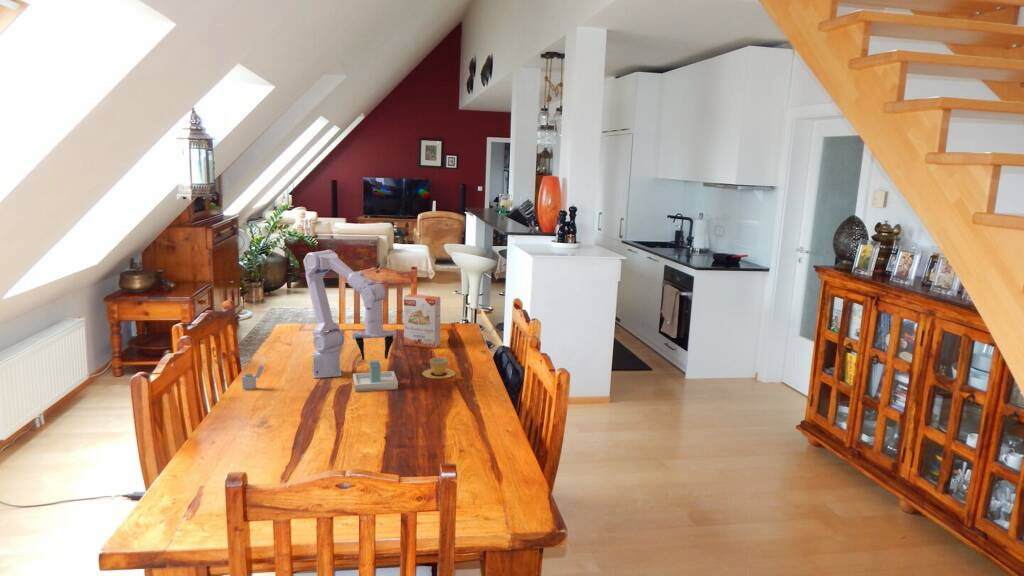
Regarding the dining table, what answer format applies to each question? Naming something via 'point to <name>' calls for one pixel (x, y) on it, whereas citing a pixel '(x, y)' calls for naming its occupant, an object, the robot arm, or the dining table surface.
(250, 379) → the lighter
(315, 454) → the dining table surface
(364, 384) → the tray
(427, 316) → the cracker box
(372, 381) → the teal block
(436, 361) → the cup
